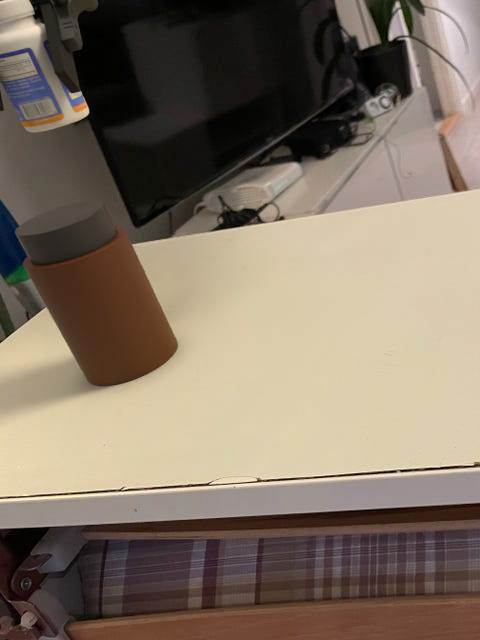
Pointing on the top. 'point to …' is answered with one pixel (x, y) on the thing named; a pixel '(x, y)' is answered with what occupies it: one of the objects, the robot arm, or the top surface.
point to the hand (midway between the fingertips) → (29, 91)
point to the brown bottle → (96, 292)
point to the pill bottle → (33, 72)
